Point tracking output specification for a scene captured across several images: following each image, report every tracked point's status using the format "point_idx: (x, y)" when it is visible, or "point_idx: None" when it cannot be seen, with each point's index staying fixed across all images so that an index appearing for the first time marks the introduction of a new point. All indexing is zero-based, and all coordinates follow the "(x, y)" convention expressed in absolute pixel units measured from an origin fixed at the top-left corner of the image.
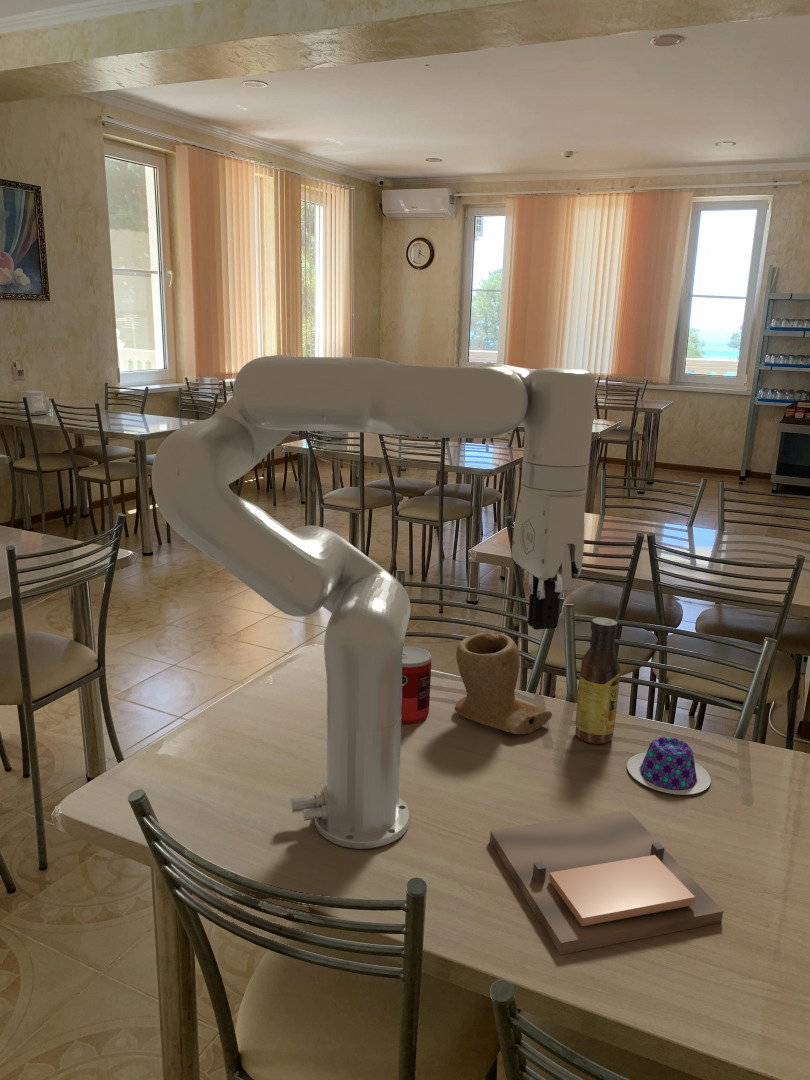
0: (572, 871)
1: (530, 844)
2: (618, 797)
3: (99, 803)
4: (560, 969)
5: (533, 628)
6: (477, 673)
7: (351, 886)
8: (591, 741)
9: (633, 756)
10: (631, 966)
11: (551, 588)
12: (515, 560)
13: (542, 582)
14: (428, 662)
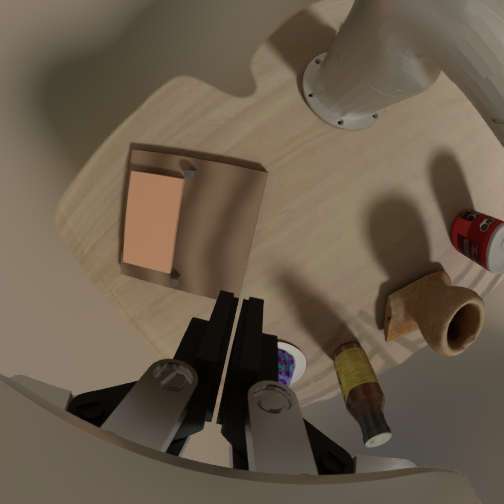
0: (176, 198)
1: (233, 194)
2: (267, 315)
3: None
4: (128, 143)
5: (222, 290)
6: (446, 296)
7: (266, 45)
8: (341, 347)
9: (304, 360)
10: (114, 188)
11: (78, 399)
12: (411, 481)
13: (120, 420)
14: (486, 262)
